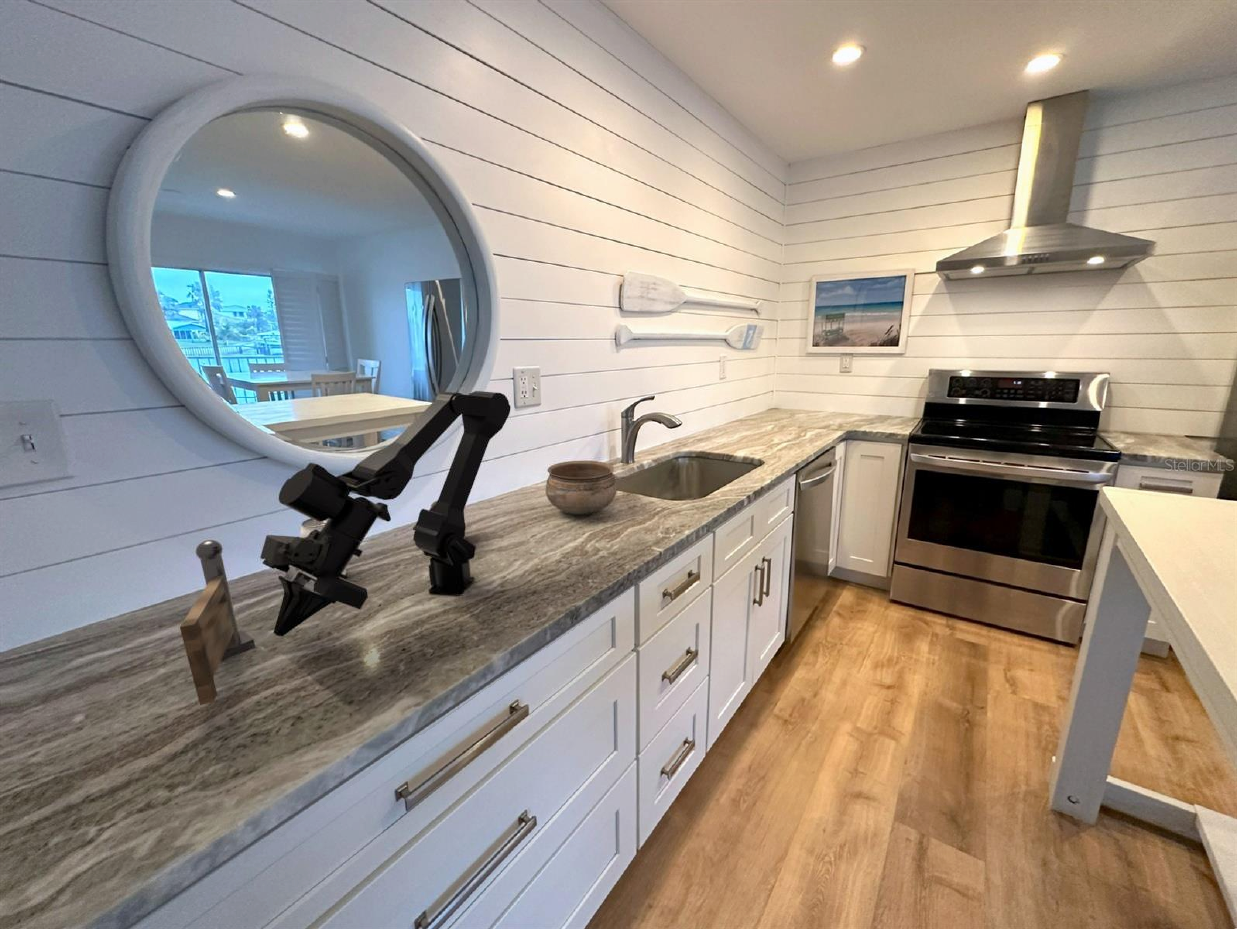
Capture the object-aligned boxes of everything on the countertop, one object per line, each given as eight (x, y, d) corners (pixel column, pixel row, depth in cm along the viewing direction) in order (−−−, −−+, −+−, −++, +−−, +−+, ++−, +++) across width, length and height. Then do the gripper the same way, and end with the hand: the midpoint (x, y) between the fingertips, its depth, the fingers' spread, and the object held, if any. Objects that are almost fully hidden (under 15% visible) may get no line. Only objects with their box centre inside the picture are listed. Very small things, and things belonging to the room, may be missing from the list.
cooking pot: (583, 494, 148) (582, 454, 145) (636, 506, 138) (636, 463, 135) (523, 519, 128) (520, 473, 125) (580, 535, 118) (579, 486, 115)
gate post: (208, 651, 75) (182, 542, 71) (242, 636, 79) (219, 532, 74) (221, 661, 73) (194, 549, 68) (254, 645, 76) (231, 539, 72)
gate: (228, 643, 74) (212, 576, 71) (239, 641, 74) (224, 574, 71) (200, 705, 61) (179, 627, 59) (214, 701, 62) (194, 624, 59)
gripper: (264, 499, 74) (191, 598, 68) (331, 524, 64) (252, 643, 58) (327, 529, 82) (267, 620, 76) (395, 556, 72) (331, 663, 66)
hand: (277, 635), depth 69 cm, fingers closed
